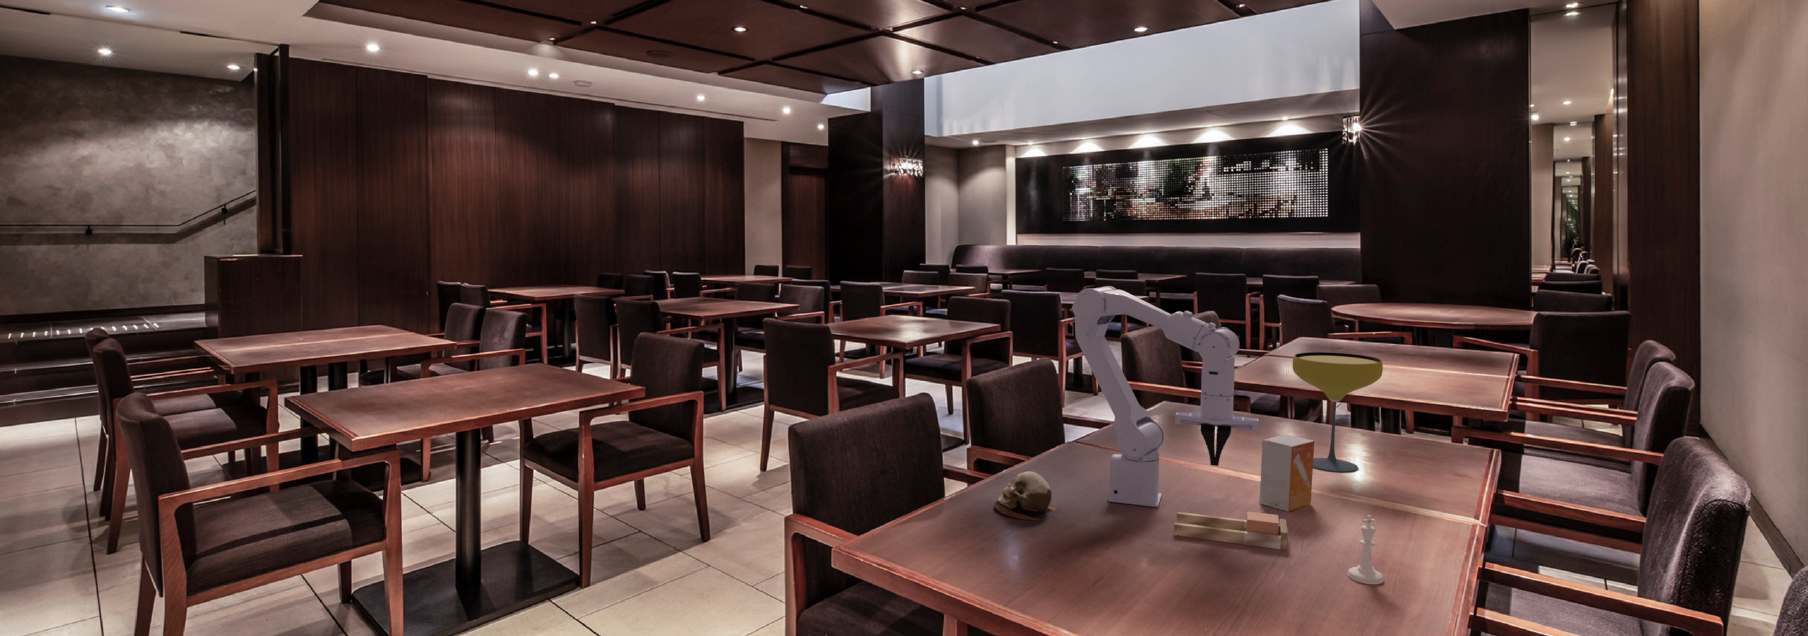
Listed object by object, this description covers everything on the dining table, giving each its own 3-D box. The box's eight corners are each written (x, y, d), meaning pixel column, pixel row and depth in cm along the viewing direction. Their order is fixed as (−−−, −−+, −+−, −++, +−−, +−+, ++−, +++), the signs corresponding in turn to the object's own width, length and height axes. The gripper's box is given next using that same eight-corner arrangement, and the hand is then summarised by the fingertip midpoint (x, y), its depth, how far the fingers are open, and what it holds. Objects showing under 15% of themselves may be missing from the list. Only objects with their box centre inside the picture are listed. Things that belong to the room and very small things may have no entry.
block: (1246, 541, 142) (1247, 519, 141) (1246, 533, 146) (1247, 511, 145) (1277, 545, 140) (1278, 523, 139) (1276, 537, 144) (1277, 515, 144)
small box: (1288, 512, 156) (1292, 446, 155) (1258, 503, 162) (1261, 439, 160) (1312, 504, 161) (1315, 440, 160) (1281, 496, 166) (1284, 433, 165)
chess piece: (1340, 571, 129) (1344, 510, 128) (1370, 570, 130) (1373, 509, 129) (1360, 585, 125) (1364, 521, 123) (1390, 584, 125) (1394, 520, 124)
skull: (979, 507, 157) (998, 461, 162) (1001, 531, 164) (1018, 485, 168) (1034, 519, 150) (1051, 470, 154) (1055, 543, 156) (1071, 495, 161)
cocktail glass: (1277, 453, 198) (1282, 351, 195) (1357, 456, 195) (1363, 352, 192) (1303, 475, 180) (1308, 363, 177) (1391, 478, 177) (1398, 365, 175)
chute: (1173, 535, 145) (1174, 518, 145) (1176, 522, 152) (1177, 506, 151) (1286, 550, 138) (1287, 533, 138) (1284, 535, 145) (1285, 519, 144)
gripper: (1174, 394, 152) (1172, 465, 153) (1259, 400, 146) (1256, 474, 148) (1177, 387, 158) (1175, 456, 160) (1259, 393, 153) (1256, 464, 154)
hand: (1214, 464), depth 154 cm, fingers closed
